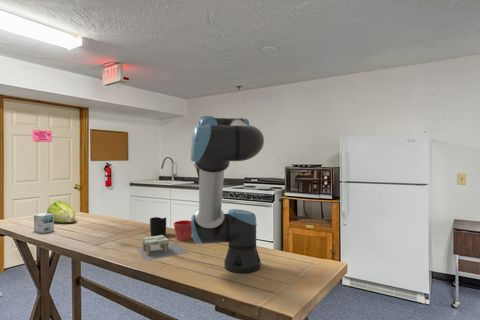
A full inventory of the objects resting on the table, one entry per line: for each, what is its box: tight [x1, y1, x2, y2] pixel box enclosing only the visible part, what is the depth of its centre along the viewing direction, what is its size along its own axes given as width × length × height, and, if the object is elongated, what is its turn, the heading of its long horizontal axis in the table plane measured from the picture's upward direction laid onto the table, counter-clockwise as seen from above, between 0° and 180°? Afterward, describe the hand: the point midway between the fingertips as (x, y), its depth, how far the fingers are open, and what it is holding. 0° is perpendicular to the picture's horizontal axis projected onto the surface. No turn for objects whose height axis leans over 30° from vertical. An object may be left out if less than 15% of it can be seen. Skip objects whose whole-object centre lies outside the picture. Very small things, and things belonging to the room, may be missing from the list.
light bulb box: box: [33, 212, 55, 234], centre depth 185 cm, size 11×7×11 cm, turn 63°
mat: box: [136, 242, 189, 261], centre depth 144 cm, size 20×20×1 cm
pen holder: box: [149, 216, 167, 237], centre depth 175 cm, size 9×9×10 cm
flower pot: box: [173, 219, 193, 242], centre depth 165 cm, size 11×11×10 cm
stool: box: [142, 235, 169, 256], centre depth 143 cm, size 10×6×10 cm
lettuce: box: [46, 200, 76, 224], centre depth 213 cm, size 15×24×16 cm
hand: (207, 197), depth 142 cm, fingers closed
